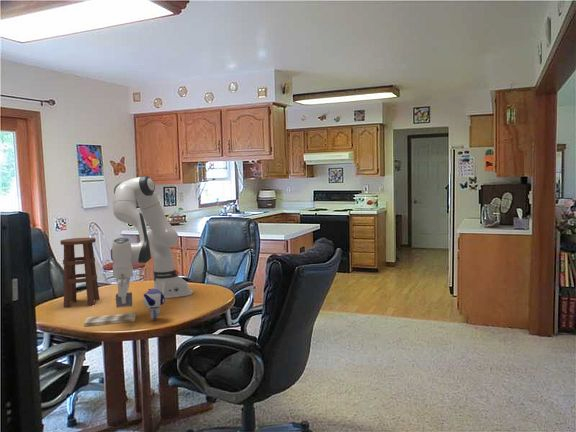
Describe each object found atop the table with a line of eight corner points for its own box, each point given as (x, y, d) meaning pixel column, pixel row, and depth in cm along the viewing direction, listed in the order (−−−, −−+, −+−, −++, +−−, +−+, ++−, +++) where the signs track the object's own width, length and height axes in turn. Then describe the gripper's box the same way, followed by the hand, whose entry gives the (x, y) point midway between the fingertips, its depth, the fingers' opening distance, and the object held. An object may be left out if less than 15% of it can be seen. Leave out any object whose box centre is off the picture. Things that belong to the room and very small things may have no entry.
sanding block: (132, 304, 229) (131, 292, 228) (132, 306, 226) (131, 293, 225) (116, 306, 227) (116, 293, 227) (116, 307, 224) (115, 295, 223)
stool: (84, 236, 272) (105, 238, 260) (88, 297, 274) (108, 301, 263) (50, 240, 256) (71, 242, 244) (55, 305, 258) (75, 310, 247)
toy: (163, 323, 219) (162, 290, 218) (141, 324, 218) (139, 291, 217) (167, 316, 229) (166, 285, 228) (146, 317, 229) (145, 286, 227)
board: (135, 315, 233) (135, 312, 233) (134, 321, 223) (134, 318, 223) (87, 320, 227) (86, 317, 227) (84, 326, 217) (83, 323, 217)
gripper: (128, 276, 216) (130, 306, 217) (131, 268, 236) (132, 296, 237) (113, 277, 214) (115, 307, 215) (117, 269, 234) (118, 297, 235)
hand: (124, 301), depth 226 cm, fingers closed on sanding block, 3 cm apart
